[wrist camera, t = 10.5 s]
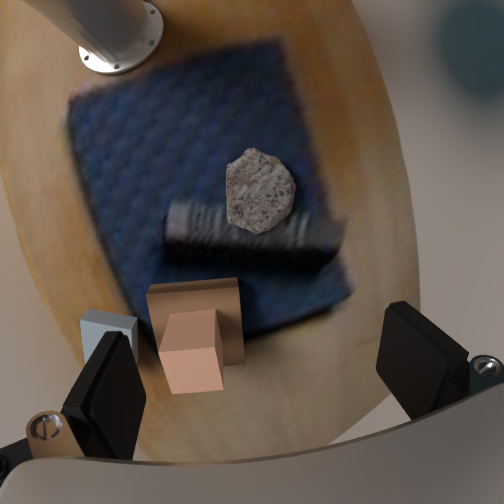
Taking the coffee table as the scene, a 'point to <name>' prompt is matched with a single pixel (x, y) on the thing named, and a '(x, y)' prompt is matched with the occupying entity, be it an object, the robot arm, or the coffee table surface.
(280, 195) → the rock
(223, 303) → the walnut block
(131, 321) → the slate block
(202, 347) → the terracotta block
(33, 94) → the coffee table surface
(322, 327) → the coffee table surface
